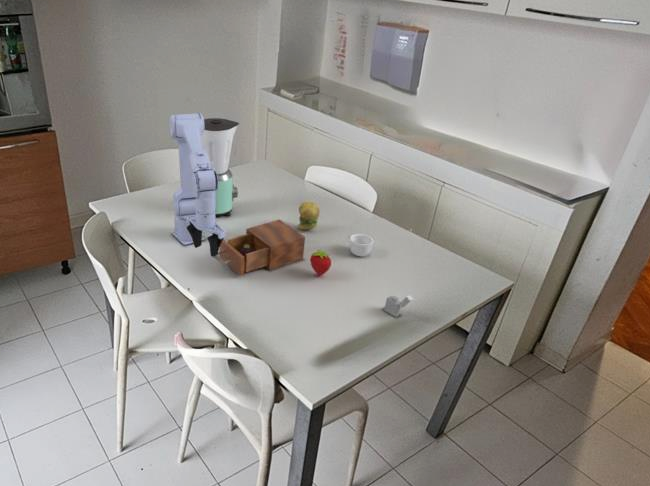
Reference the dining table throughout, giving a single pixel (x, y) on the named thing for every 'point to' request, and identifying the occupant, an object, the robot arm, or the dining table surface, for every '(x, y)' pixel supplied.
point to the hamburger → (308, 215)
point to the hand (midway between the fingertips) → (206, 250)
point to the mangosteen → (246, 250)
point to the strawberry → (320, 262)
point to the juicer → (220, 160)
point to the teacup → (360, 244)
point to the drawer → (236, 259)
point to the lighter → (396, 304)
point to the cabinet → (279, 242)
